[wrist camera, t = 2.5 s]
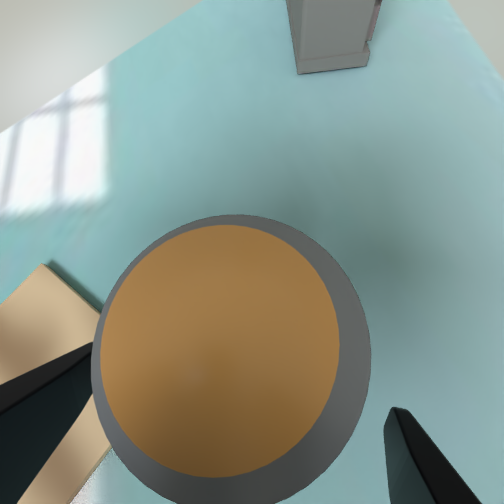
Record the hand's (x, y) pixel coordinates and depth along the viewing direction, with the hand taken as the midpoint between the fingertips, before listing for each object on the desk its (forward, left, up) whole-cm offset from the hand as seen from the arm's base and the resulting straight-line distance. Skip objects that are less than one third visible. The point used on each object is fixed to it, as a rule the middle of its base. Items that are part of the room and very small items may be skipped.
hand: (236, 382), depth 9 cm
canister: (+1, 0, -9) cm, 9 cm away
